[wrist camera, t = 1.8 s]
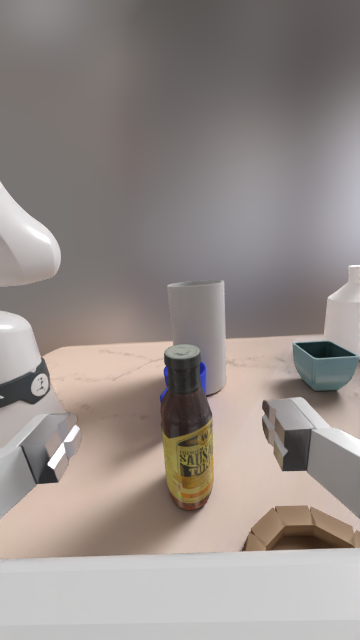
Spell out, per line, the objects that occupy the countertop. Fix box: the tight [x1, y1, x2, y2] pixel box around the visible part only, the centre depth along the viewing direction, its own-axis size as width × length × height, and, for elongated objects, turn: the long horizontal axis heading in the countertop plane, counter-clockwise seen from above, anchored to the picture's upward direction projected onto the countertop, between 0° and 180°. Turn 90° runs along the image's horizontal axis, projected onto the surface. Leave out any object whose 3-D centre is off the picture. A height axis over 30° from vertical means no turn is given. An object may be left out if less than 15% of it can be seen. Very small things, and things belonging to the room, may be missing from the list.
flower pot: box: [293, 341, 360, 391], centre depth 42 cm, size 9×9×9 cm
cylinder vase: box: [167, 280, 226, 395], centre depth 45 cm, size 12×12×25 cm
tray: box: [242, 506, 360, 552], centre depth 14 cm, size 15×15×2 cm
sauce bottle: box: [161, 344, 213, 510], centre depth 23 cm, size 7×6×20 cm
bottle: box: [323, 265, 360, 360], centre depth 54 cm, size 12×12×25 cm
